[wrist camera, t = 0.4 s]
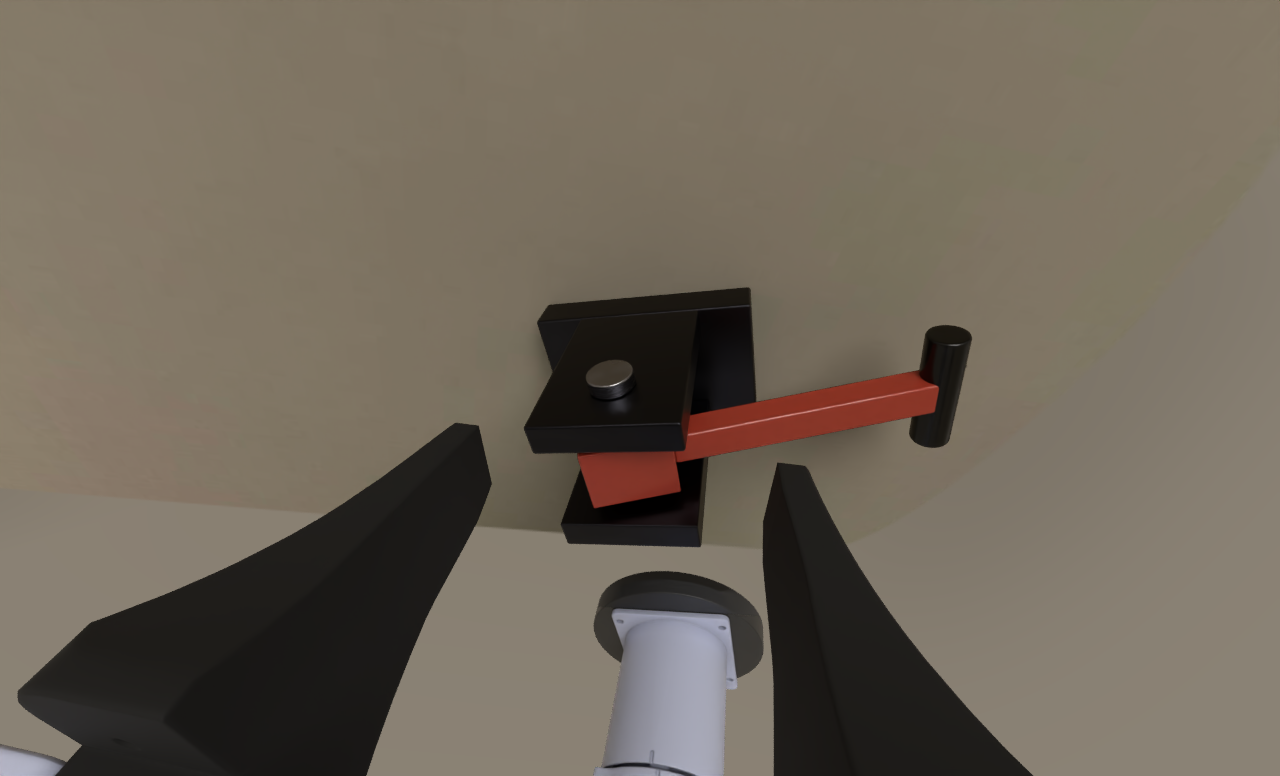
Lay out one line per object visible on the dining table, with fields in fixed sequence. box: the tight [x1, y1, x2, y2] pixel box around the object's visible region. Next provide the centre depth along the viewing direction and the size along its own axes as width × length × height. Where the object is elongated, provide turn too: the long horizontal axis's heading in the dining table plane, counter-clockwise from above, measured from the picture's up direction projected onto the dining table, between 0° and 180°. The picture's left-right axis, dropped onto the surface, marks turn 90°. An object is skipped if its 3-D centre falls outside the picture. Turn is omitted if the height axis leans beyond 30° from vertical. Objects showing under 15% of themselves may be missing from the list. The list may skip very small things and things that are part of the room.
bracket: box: [524, 288, 756, 547], centre depth 18 cm, size 8×6×8 cm
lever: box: [577, 325, 972, 508], centre depth 16 cm, size 12×4×2 cm, turn 100°
